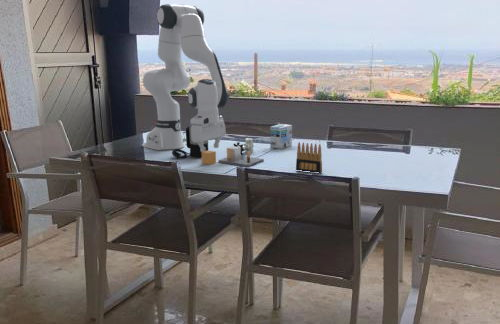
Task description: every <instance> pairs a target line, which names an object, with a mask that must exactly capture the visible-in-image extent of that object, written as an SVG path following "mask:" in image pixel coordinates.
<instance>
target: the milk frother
mask: <svg viewBox="0 0 500 324" xmlns="http://www.w3.org/2000/svg"><path fill="white" fill-rule="evenodd" d="M192 125H193V124H191V123H190V124H188V126H187V127H186V128H185V141H186V148H188V149H189V152H188V151H185V150H183V149H181V148H178V149H172V153H171V155H172V156H173V157H175V158H176V159H185V158H187V157H188V155H189V157H191V158H197V159H198V158H200V159H202V152H201V151H200V146H199V145H198V143H195V142H193V141H192V139H191V126H192ZM203 145H204V147H206V151H209V140H207V141H204V144H203ZM182 154H183V155H182Z"/></svg>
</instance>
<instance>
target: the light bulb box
mask: <svg viewBox="0 0 500 324" xmlns="http://www.w3.org/2000/svg"><path fill="white" fill-rule="evenodd" d="M269 129H270V130H269V131H270V132H269V133H270V137H269V138H270V141H269V143H270V145H269V146H270V148H274V149H278V150H280V149H285V148H289V147H292V146H293V125H292V124H285V123H280V124H276V125H272V126H270V128H269Z"/></svg>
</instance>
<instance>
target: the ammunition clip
mask: <svg viewBox="0 0 500 324" xmlns="http://www.w3.org/2000/svg"><path fill="white" fill-rule="evenodd" d="M309 145H310V146H309ZM296 151H297V152H296V159H295V160H296V162H295V171H296V170H302V171H310V172H319V173H321V172H322V173H323V162H322V160H323V159H322V156H323V155H322V146H321V144H320V143H319V145H318V146H317V143H315V144H314V146H313V143H310V144H309V142H306V146H305V141H304V142H302V144H301V142H298V143H297V150H296ZM322 173H321V174H322Z"/></svg>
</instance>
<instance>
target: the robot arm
mask: <svg viewBox="0 0 500 324" xmlns="http://www.w3.org/2000/svg"><path fill="white" fill-rule="evenodd" d="M156 20H157V23H158V25H159V26H160V29H159V33H158V36H159V37H158V47H157V56H158V58H159V59H160V60H161V61H162V62H164V65H165V68H164V69H154V70H150V71H146V72H145V74H144V75H143V78H142V85H143V87H144V89H145V90H146V91H147V92H148V93H150V95H151V96H152V97H153V99H154V101H155V104H156V112H157V120H153V123H154V124H155V127H154V128H152V129H151V130H150V131H149V132H148V133H147V134H146V139H145V142H144V143H142V144H141V147H143V148H147V149H152V150H155V151H163V150H174V149H181V148H184V147H185V143H184V139H183V135H182V134H183V133H182V120H181V119H182V118H181V113H180V111H181V109H180V107H181V106H180V103H179V102H178V101H177V100H176V99H173V97H172V94H171V92H180V91H182V90H185V89H187V88H189V86H190V84H191V77H190V74H189V72H188V71H187V70H186V69H185V67H184V65H183V61H182V53H183V54H184V55H185V56H186V57H187V58H189V59H190V60H192V61H194V62H198V63H200V64H202V65H203V66H205V67H207V69H208V70H209V73H210V77H211V79H210V78H209V79H208V78H202V79H199V80H198V81H197V85H196V86H192V87H190V89H189V90H188V92H187V102H188V104H189V106H190V107H191V108H193V109H197V114H196V115H194V116H193V117H192V118H191V119H190V120H189V121H190V124H193V125H192V126H191V139H192V141H193V142H195V143H198V145H199V146H200V151H201V152H204V151H206V147H204V145H203V144H204V141H207V140H208V141H211V140H214V143H213V148H215V149H218V148H219V146H220V142H221V138H222V137H225V136H226V132H227V131H226V125H225V121H224V118H223V116H222V115H220V114H219V113H220V112H219V109H223V108H224V107H226V106H227V104H228V103H229V101H230V93H229V92H230V91H229V90H228V88H227V85H226V83H225V81H224V77H223V73H222V71H221V67H220V64H219V60H218V57H217V55H216V53H215V51H214V50H212V49H211V48H210V46H209V45H208V42H207V39H206V34H205V29H204V26H203V25H204V23H205V14H204V12H203V10H202V9H201V8H200V7H198V6H195V5H193V6H192V5H187V4H170V3H169V4H168V3H167V4H166V3H165V4H162V5H160V6H159V7H158V8H157V12H156Z"/></svg>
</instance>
